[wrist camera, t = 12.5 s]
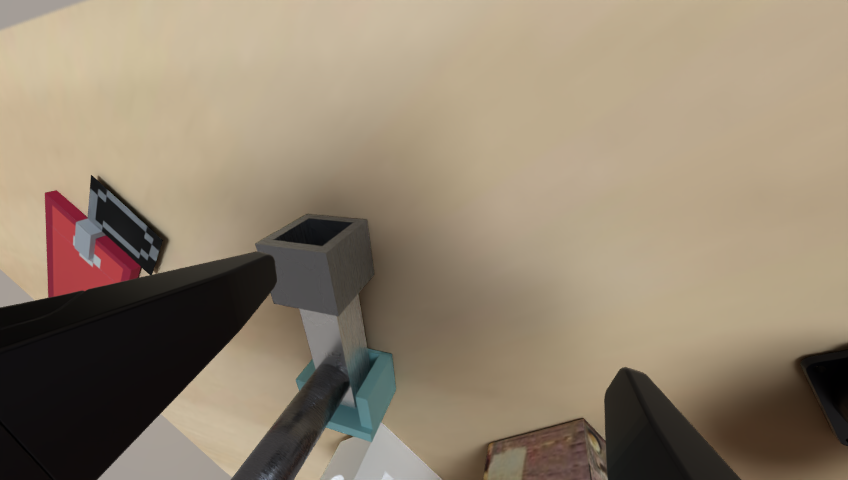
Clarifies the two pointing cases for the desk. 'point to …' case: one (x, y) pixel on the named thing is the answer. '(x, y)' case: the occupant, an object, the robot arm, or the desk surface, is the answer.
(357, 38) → the desk surface
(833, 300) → the desk surface
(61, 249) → the red board with handle
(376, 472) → the bracket
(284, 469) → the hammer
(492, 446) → the book
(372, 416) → the socket block
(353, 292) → the outer sleeve
